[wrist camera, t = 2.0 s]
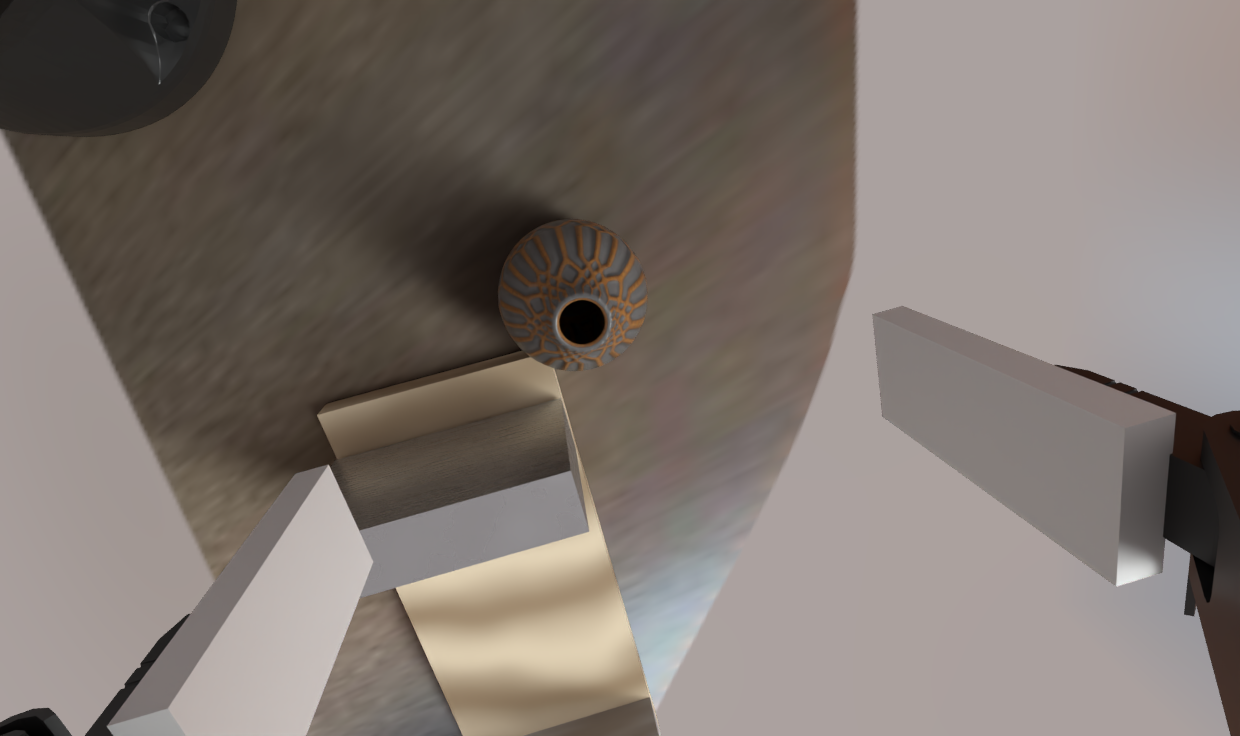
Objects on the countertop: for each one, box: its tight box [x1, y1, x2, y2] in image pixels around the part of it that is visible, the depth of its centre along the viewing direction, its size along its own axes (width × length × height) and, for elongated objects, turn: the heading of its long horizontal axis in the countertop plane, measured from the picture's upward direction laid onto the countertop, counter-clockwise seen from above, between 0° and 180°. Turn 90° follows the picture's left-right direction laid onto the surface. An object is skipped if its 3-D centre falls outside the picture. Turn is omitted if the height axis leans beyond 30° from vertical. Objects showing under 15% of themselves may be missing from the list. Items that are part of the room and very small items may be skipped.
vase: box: [498, 219, 648, 371], centre depth 28 cm, size 7×7×9 cm
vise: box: [317, 351, 661, 736], centre depth 33 cm, size 28×12×10 cm, turn 13°
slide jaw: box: [330, 398, 589, 598], centre depth 29 cm, size 3×12×8 cm, turn 103°
